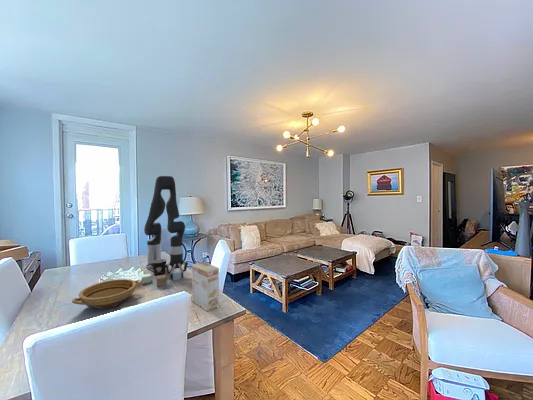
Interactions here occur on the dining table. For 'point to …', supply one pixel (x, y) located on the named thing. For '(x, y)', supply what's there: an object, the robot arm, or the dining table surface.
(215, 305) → the coffeecake box
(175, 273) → the brick slate
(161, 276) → the brick base
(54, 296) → the dining table surface
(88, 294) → the ceramic bowl
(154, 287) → the build plate
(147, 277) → the brick sage
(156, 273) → the coffee mug
